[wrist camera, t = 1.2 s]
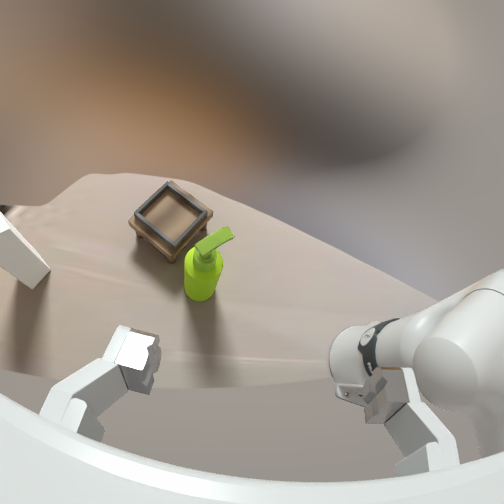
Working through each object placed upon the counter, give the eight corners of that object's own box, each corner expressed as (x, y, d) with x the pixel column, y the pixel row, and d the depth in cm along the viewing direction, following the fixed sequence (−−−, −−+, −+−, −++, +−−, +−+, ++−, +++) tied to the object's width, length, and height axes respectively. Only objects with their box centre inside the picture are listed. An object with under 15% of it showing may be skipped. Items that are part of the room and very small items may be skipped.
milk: (37, 251, 53) (-12, 195, 33) (51, 270, 52) (1, 217, 32) (18, 271, 50) (-37, 222, 30) (32, 290, 49) (-25, 246, 30)
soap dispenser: (225, 287, 59) (244, 246, 41) (195, 307, 56) (201, 273, 38) (207, 263, 60) (219, 213, 42) (178, 282, 57) (176, 237, 39)
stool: (210, 226, 63) (214, 207, 56) (172, 268, 58) (171, 253, 51) (171, 196, 64) (170, 175, 57) (132, 234, 59) (126, 216, 52)
